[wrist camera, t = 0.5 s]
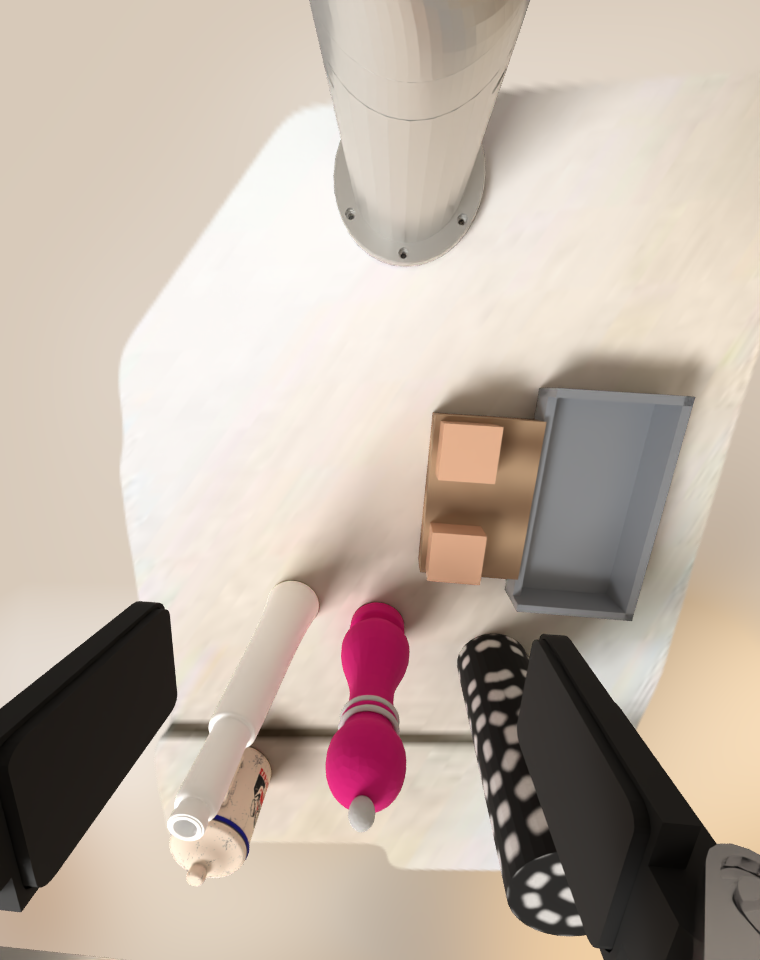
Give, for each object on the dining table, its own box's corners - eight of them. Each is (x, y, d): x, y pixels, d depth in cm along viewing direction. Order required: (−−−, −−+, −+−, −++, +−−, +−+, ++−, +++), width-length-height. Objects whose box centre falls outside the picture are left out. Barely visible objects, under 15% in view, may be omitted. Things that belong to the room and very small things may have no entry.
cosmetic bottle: (284, 632, 43) (171, 875, 21) (259, 591, 41) (112, 806, 20) (328, 614, 42) (256, 850, 20) (304, 572, 40) (200, 777, 19)
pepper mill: (353, 592, 41) (313, 776, 21) (414, 604, 41) (429, 799, 22) (342, 643, 43) (296, 856, 23) (401, 655, 43) (403, 877, 23)
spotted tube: (541, 652, 42) (666, 882, 22) (502, 701, 44) (586, 951, 24) (480, 622, 41) (554, 832, 22) (444, 673, 43) (482, 907, 24)
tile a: (440, 420, 32) (444, 423, 30) (495, 424, 32) (503, 427, 30) (435, 473, 34) (438, 480, 31) (487, 477, 34) (495, 484, 31)
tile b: (430, 522, 35) (432, 532, 33) (480, 526, 35) (487, 536, 32) (425, 568, 36) (427, 580, 34) (474, 571, 36) (479, 585, 34)
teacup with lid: (267, 798, 50) (229, 918, 39) (204, 782, 50) (147, 897, 38) (284, 735, 47) (248, 845, 35) (217, 717, 47) (159, 822, 35)
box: (539, 387, 34) (557, 388, 30) (661, 395, 34) (695, 396, 30) (504, 589, 40) (516, 611, 36) (608, 598, 39) (631, 620, 36)
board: (432, 412, 35) (435, 414, 32) (534, 419, 35) (546, 422, 32) (418, 558, 39) (419, 572, 36) (508, 565, 39) (517, 579, 36)
